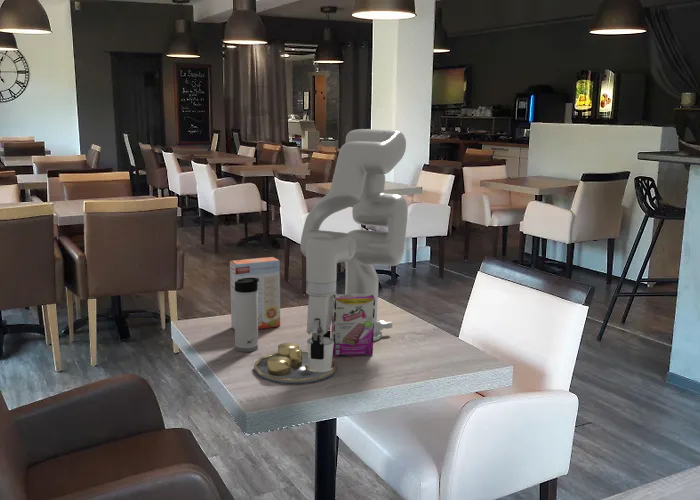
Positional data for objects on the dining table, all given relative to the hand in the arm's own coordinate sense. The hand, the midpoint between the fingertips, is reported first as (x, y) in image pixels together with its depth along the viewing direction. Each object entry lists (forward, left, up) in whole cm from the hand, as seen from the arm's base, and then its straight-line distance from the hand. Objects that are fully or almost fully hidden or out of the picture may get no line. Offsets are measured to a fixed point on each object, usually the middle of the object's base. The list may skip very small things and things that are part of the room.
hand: (320, 351), depth 176 cm
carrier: (+6, -3, -5) cm, 8 cm away
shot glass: (0, +1, -4) cm, 4 cm away
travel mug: (+14, -22, -5) cm, 26 cm away
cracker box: (+7, -40, -5) cm, 41 cm away
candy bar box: (-12, -9, -5) cm, 16 cm away
